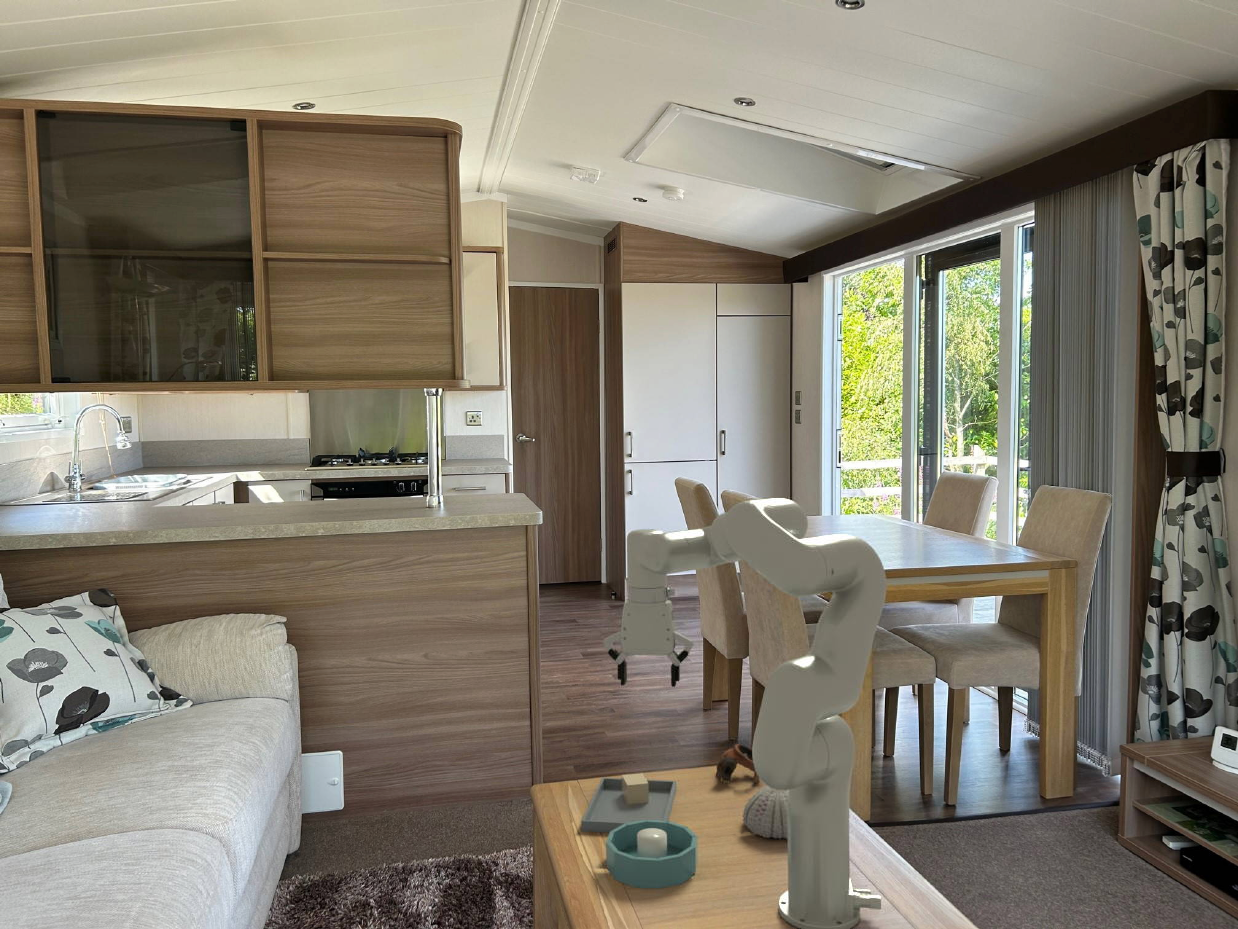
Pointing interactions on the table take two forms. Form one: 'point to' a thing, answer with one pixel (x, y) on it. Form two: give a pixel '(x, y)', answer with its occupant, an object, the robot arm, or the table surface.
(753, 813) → the sea urchin shell
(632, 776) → the sand stone
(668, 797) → the parts tray
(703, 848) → the table surface
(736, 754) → the brown animal figurine
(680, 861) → the bowl
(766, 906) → the table surface
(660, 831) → the pale stone
